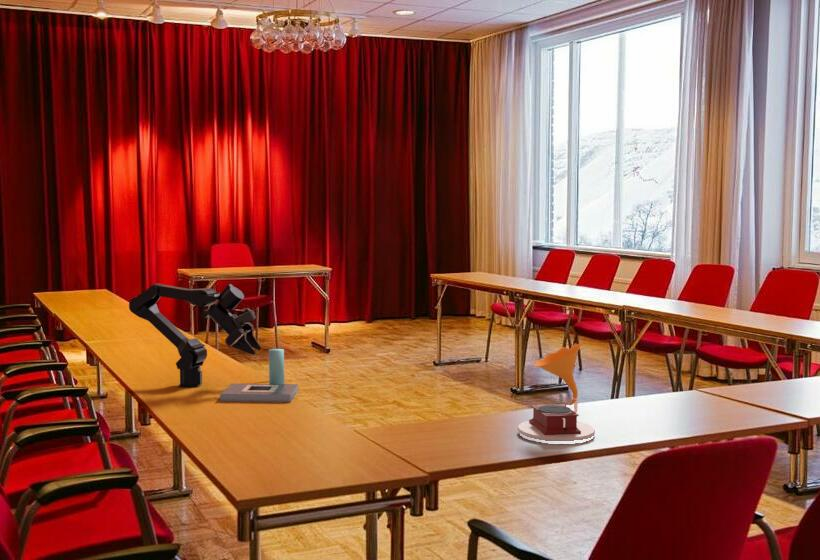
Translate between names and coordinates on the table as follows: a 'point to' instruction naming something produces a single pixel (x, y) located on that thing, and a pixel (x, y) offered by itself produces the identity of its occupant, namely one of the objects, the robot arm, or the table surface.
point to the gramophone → (558, 418)
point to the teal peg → (276, 366)
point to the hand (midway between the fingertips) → (257, 351)
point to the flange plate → (259, 393)
